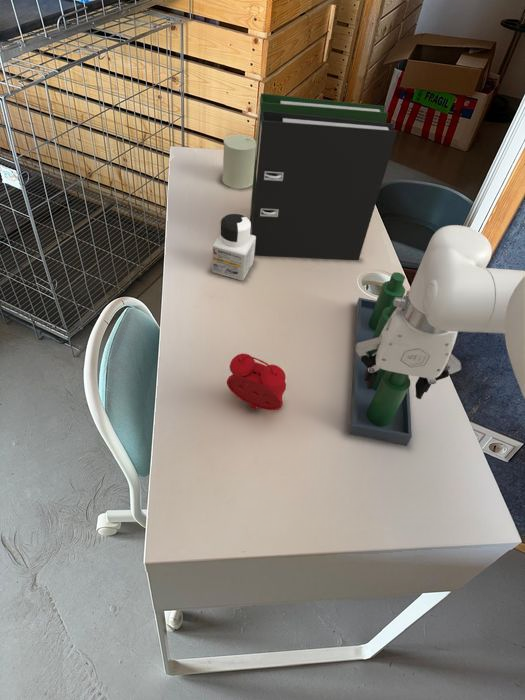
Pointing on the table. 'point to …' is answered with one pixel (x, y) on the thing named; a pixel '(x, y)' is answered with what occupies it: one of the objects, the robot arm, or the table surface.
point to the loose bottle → (388, 398)
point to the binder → (317, 176)
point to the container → (234, 247)
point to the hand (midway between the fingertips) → (393, 386)
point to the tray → (362, 396)
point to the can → (238, 161)
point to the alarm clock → (257, 382)
